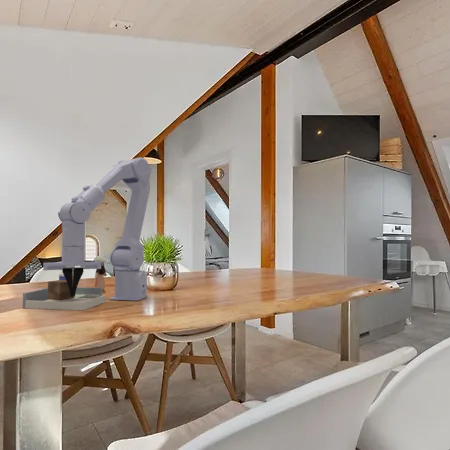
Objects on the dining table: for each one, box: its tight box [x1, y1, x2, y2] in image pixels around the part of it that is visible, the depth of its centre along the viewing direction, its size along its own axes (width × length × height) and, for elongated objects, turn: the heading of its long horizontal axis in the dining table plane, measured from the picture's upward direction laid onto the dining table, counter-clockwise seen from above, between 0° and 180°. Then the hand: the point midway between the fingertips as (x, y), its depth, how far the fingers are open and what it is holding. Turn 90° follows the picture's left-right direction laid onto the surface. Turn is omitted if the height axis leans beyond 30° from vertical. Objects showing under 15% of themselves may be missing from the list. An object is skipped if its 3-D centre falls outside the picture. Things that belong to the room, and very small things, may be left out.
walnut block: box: [47, 279, 74, 300], centre depth 103 cm, size 5×5×5 cm
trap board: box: [22, 286, 107, 311], centre depth 104 cm, size 18×13×4 cm
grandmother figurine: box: [93, 255, 108, 294], centre depth 127 cm, size 8×4×13 cm, turn 5°
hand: (72, 296), depth 100 cm, fingers closed
